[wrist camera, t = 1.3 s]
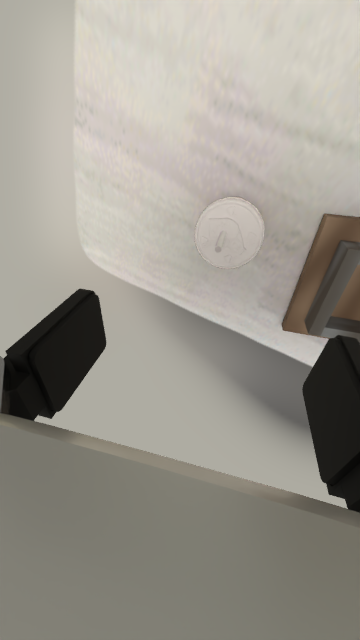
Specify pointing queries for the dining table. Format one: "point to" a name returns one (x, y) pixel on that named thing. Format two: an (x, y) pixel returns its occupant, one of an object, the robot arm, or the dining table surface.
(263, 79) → the dining table surface
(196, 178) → the dining table surface
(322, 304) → the socket block
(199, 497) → the robot arm
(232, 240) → the smoothie
